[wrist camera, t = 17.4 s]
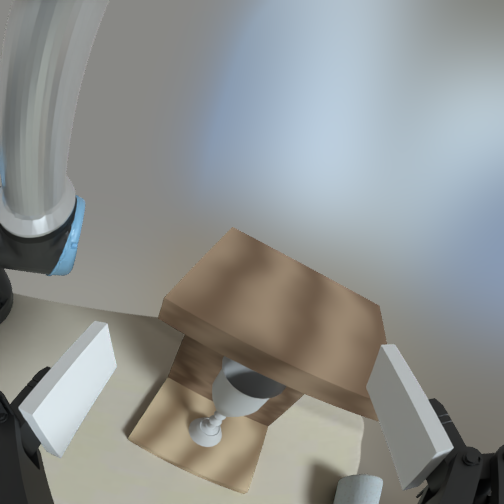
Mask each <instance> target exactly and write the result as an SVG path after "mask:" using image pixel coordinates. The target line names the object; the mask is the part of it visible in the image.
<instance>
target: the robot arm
mask: <svg viewBox="0 0 504 504" xmlns="http://www.w3.org/2000/svg"><path fill="white" fill-rule="evenodd" d="M109 1H110V0H12V4H11V8H10V12H9V16H8V21H7V25H6V29H5V35H4V40H3V46H2V53H1V61H0V174H1V182H2V186H1V187H0V323H1V322H2V321H3V320H4V319H5V318H6V317H7V315H8V314H9V312H10V310H11V307H12V304H13V293H12V287H11V283H10V280H9V278H8V276H7V274H6V272H5V270H4V268H6V269H12V270H19V271H26V272H33V273H41V274H46V275H47V276H51V275H62V276H64V275H67V274H69V273H70V271H71V270H72V268H73V265H74V261H75V257H76V252H77V244H78V241H79V237H80V232H81V228H82V222H83V217H84V211H85V201H84V199H83V198H80V197H78V196H76V195H75V189H74V186H73V184H72V182H71V180H70V179H69V178H68V177H67V175H66V172H67V162H68V154H69V146H70V139H71V133H72V126H73V121H74V116H75V110H76V106H77V101H78V96H79V92H80V88H81V84H82V79H83V76H84V72H85V68H86V65H87V62H88V58H89V55H90V52H91V49H92V45H93V42H94V39H95V36H96V34H97V31H98V28H99V25H100V23H101V20H102V17H103V15H104V12H105V10H106V8H107V5H108V3H109ZM116 367H117V365H116V361H115V356H114V352H113V348H112V343H111V339H110V334H109V329H108V324H107V323H104V322H98V321H94V322H93V323H92V324H91V325H90V326H89V327H88V328H87V329H86V331H85V332H84V333H83V334H82V335H81V336H80V337H79V338H78V339H77V340H76V341H75V342H74V343H73V344H72V346H71V347H70V348H69V349H68V350H67V351H66V352H65V353H64V354H63V355H62V357H61V358H60V359H59V360H58V361H57V362H56V363H55V364H54V366H53V367H52V368H50V367H46V368H44V369H42V370H40V371H39V372H38V373H37V374H36V375H35V376H34V377H33V378H32V380H31V381H30V382H29V383H28V384H27V386H25V387H24V389H23V390H22V391H21V392H20V393H19V394H18V396H17V397H16V398H15V399H14V400H13V401H12V403H11V404H9V402H8V401H7V399H6V397H5V395H4V394H3V393H2V392H1V391H0V504H54V502H53V499H52V495H51V492H50V489H49V485H48V482H47V478H46V474H45V470H44V466H43V462H42V457H41V453H40V451H39V449H38V447H39V446H40V444H42V446H43V447H44V448H45V450H46V451H47V452H49V453H51V454H53V455H55V456H57V457H59V458H61V457H62V455H63V453H64V452H65V450H66V448H67V446H68V445H69V443H70V441H71V440H72V438H73V436H74V434H75V433H76V431H77V429H78V428H79V426H80V424H81V423H82V421H83V420H84V418H85V416H86V415H87V413H88V411H89V410H90V408H91V406H92V405H93V403H94V402H95V400H96V398H97V397H98V395H99V394H100V392H101V391H102V389H103V387H104V386H105V384H106V383H107V381H108V380H109V378H110V376H111V375H112V373H113V372H114V370H115V369H116ZM366 388H367V391H368V393H369V396H370V398H371V401H372V404H373V406H374V409H375V412H376V414H377V417H378V420H379V422H380V425H381V428H382V431H383V433H384V436H385V439H386V442H387V445H388V448H389V451H390V454H391V456H392V459H393V462H394V465H395V468H396V471H397V474H398V478H399V480H400V484H401V487H402V490H407V489H411V488H414V487H418V486H419V485H420V484H421V483H422V482H423V481H424V480H425V479H426V480H427V483H428V485H427V486H426V487H425V488H424V489H423V490H422V491H421V492H420V493H419V494H418V495H417V496H416V497H417V498H418V497H420V496H421V495H422V496H421V498H420V500H419V502H418V504H504V445H503V446H501V447H500V448H499V449H498V450H497V451H496V453H489V454H481V453H480V452H479V451H478V450H477V449H475V448H473V447H467V446H466V445H465V443H464V442H463V440H462V438H461V436H460V434H459V432H458V431H457V429H456V427H455V425H454V424H453V422H451V419H450V417H449V416H448V413H447V411H446V410H445V408H444V406H443V405H442V404H441V403H440V402H438V401H437V400H436V399H435V398H434V399H427V397H426V395H425V393H424V392H423V390H422V388H421V387H420V385H419V384H418V382H417V380H416V378H415V376H414V375H413V373H412V372H411V370H410V368H409V366H408V365H407V363H406V361H405V360H404V359H403V357H402V355H401V353H400V352H399V350H398V349H397V347H396V346H395V344H387V345H381V347H380V350H379V353H378V356H377V358H376V361H375V364H374V367H373V370H372V372H371V375H370V378H369V380H368V383H367V386H366Z"/></svg>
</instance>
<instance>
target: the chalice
mask: <svg viewBox="0 0 504 504" xmlns="http://www.w3.org/2000/svg"><path fill="white" fill-rule="evenodd" d="M285 388H286V386H285V385H283V384H281V383H279V382H277V381H274V380H272V379H270V378H268V377H266V376H264V375H262V374H259V373H257V372H255V371H253V370H251V369H249V368H247V367H245V366H243V365H241V364H239V363H237V362H235V361H233V360H231V359H229V358H227V357H225V356H224V357H223V359H222V369H221V371H220V372H219V374H218V376H217V377H216V379H215V381H214V382H213V385H212V399H213V402H214V405H215V408H216V411H215V412H214V415H212V416H210V418H209V417H204V418H197V419H195V420H193V421H192V422H191V424H190V426H189V434H190V437H191V438H192V440H193V441H194V442H196V443H197V444H199V445H201V446H204V447H212V446H214V445H217V444H218V443H219V442H220V440H221V438H222V432H221V426H220V425H221V423H222V420H224V419H225V418H226V417H240V416H245V415H249V414H252V413H254V412H256V411H257V410H258V409H259V408H260V407H261V406H262V405H263V404H264V403H265V402H266V401H267V400H268V399H269V398H273V397H275V396H277V395H279V394H281V393H282V392H283V391H284V389H285Z"/></svg>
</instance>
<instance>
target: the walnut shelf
mask: <svg viewBox="0 0 504 504" xmlns="http://www.w3.org/2000/svg"><path fill="white" fill-rule="evenodd" d="M158 319H160V320H162V321H163V322H165V323H166V324H168V325H170V326H172V327H173V328H175V329H177V330H178V331H180V332H182V333H183V334H185V335H184V338H183V340H182V343H181V345H180V348H179V350H178V353H177V355H176V358H175V360H174V363H173V365H172V368H171V370H170V373H169V375H168V378H167V379H166V381H165V382H164V384H163V385H162V387H161V388H160V390H159V391H158V393H157V394H156V396H155V397H154V399H153V400H152V402H151V403H150V405H149V407H148V408H147V410H146V411H145V413H144V414H143V416H142V417H141V419H140V420H139V422H138V423H137V425H136V426H135V428H134V429H133V431H132V433H131V434H130V436H129V438H128V440H129V441H131V442H133V443H134V444H136V445H138V446H139V447H141V448H143V449H145V450H146V451H148V452H150V453H152V454H154V455H155V456H157V457H159V458H161V459H163V460H165V461H167V462H169V463H171V464H173V465H175V466H177V467H179V468H181V469H183V470H185V471H187V472H189V473H192V474H194V475H196V476H198V477H201V478H203V479H205V480H208V481H210V482H213V483H215V484H218V485H220V486H223V487H226V488H228V489H231V490H234V491H237V492H240V493H243V494H245V493H247V492H248V490H249V487H250V484H251V481H252V478H253V475H254V471H255V468H256V465H257V462H258V459H259V455H260V452H261V449H262V445H263V442H264V439H265V435H266V432H267V428H268V426H269V425H270V424H271V423H273V422H274V421H275V420H276V419H277V418H278V417H280V416H281V415H282V414H283V413H284V412H285V411H286V410H288V409H289V408H290V407H291V406H292V405H293V404H294V403H295V402H296V401H297V400H299V399H300V398H301V397H302V396H303V395H304V394H306V395H309V396H311V397H314V398H316V399H318V400H321V401H323V402H326V403H329V404H331V405H334V406H336V407H339V408H342V409H344V410H347V411H350V412H352V413H355V414H358V415H361V416H364V417H367V418H370V419H373V420H376V421H379V420H378V417H377V414H376V412H375V409H374V406H373V404H372V401H371V398H370V396H369V393H368V391H367V388H366V386H367V383H368V380H369V378H370V375H371V372H372V370H373V367H374V364H375V361H376V358H377V356H378V353H379V350H380V347H381V345H387V342H386V337H385V332H384V326H383V321H382V316H381V312H380V307H379V306H378V305H377V304H375V303H373V302H371V301H370V300H368V299H366V298H364V297H362V296H360V295H359V294H356V293H355V292H353V291H351V290H349V289H348V288H346V287H344V286H342V285H340V284H338V283H337V282H335V281H333V280H331V279H329V278H327V277H325V276H324V275H322V274H320V273H318V272H316V271H314V270H312V269H310V268H309V267H307V266H305V265H303V264H301V263H299V262H298V261H296V260H294V259H292V258H290V257H288V256H286V255H284V254H282V253H281V252H279V251H277V250H275V249H273V248H271V247H269V246H267V245H265V244H264V243H262V242H260V241H258V240H256V239H254V238H252V237H250V236H249V235H247V234H245V233H243V232H241V231H239V230H237V229H235V228H233V227H232V228H231V229H230V230H229V231H228V232H227V233H226V234H225V235H224V236H223V237H222V238H221V239H220V240H219V241H218V242H217V243H216V244H215V245H214V246H213V247H212V248H211V249H210V250H209V252H208V253H206V254H205V256H204V257H203V258H202V259H201V260H200V261H199V262H198V263H197V264H196V265H195V266H194V267H193V268H192V269H191V270H190V271H189V272H188V273H187V274H186V275H185V276H184V277H183V279H181V280H180V281H179V283H178V284H177V285H176V286H175V287H174V288H173V289H172V290H171V291H170V292H169V293H168V294H167V295H166V296H165V297H164V300H163V303H162V307H161V310H160V313H159V317H158ZM224 356H225V357H227V358H229V359H231V360H233V361H235V362H237V363H239V364H241V365H243V366H245V367H247V368H249V369H251V370H253V371H255V372H257V373H259V374H262V375H264V376H266V377H268V378H270V379H272V380H274V381H277V382H279V383H281V384H283V385H285V386H286V388H285V389H284V391H283V392H282V393H281V394H279V395H277V396H275V397H273V398H269V399H268V400H267V401H266V402H265V403H264V404H263V405H262V406H261V407H260V408H259V409H258V410H257V411H256V412H254V413H252V414H249V415H245V416H240V417H226V418H225V419H224V420H222V423H221V425H220V426H221V432H222V438H221V440H220V442H219V443H218V444H217V445H214V446H212V447H204V446H201V445H199V444H197V443H196V442H194V441H193V440H192V438H191V437H190V434H189V426H190V424H191V422H192V421H193V420H195V419H197V418H204V417H209V418H210V416H212V415H214V412H215V411H216V408H215V405H214V402H213V399H212V385H213V382H214V381H215V379H216V377H217V376H218V374H219V372H220V371H221V369H222V359H223V357H224Z"/></svg>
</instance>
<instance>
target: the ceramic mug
mask: <svg viewBox="0 0 504 504" xmlns="http://www.w3.org/2000/svg"><path fill="white" fill-rule="evenodd" d="M382 485H383V480H382V479H381V478H379V477H377V476H373V475H366V474H359V475H351V476H347V477H344V478H342V479H340V480H339V482H338V485H337V490H336V495H335V499H334V503H333V504H378V503H379V499H380V495H381V490H382Z"/></svg>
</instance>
